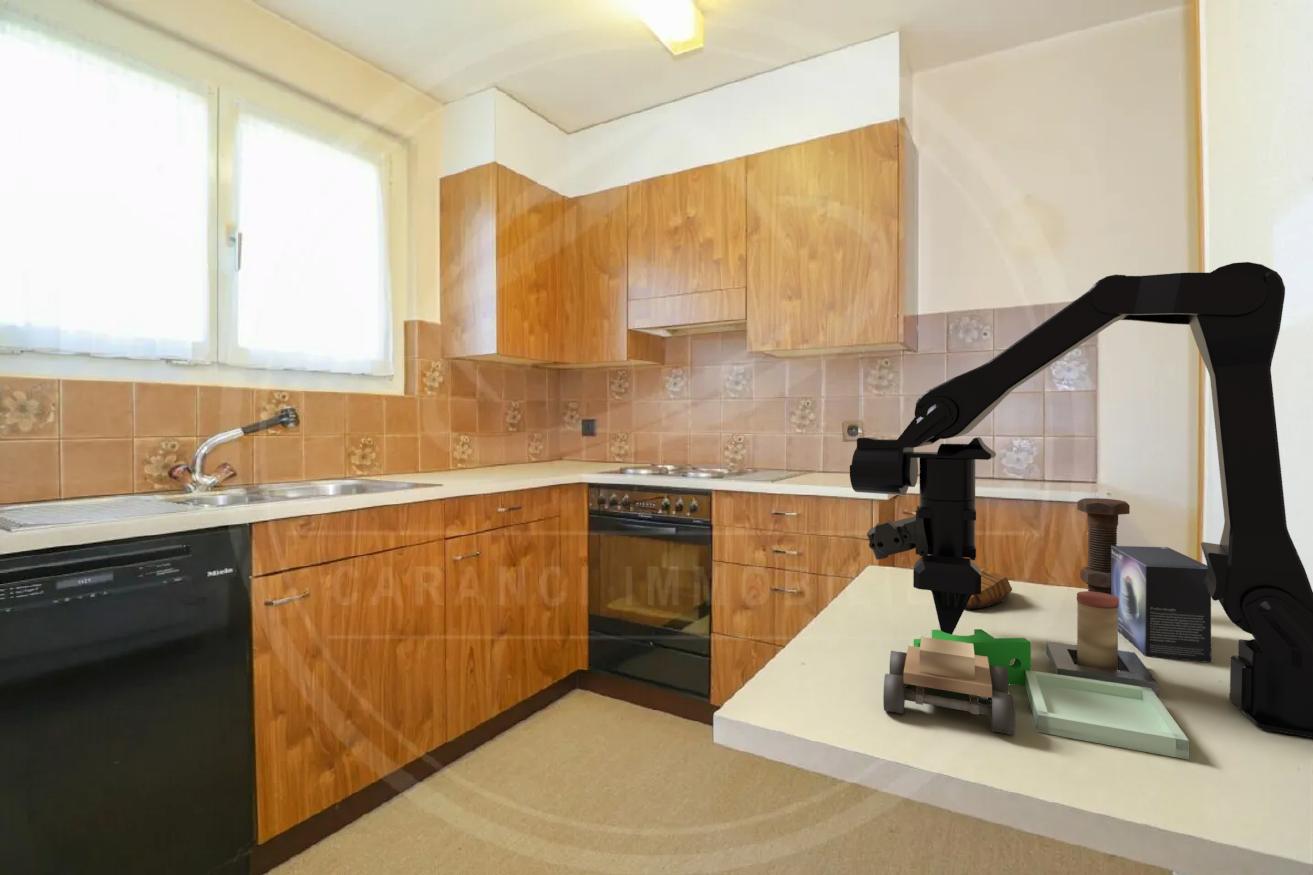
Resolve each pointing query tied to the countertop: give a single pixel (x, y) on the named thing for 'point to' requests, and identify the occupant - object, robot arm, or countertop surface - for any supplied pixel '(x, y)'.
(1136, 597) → the small box
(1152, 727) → the tray
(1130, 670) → the socket
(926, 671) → the toy car
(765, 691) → the countertop surface
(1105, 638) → the pin
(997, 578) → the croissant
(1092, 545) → the bolt
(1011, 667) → the pipe clamp
